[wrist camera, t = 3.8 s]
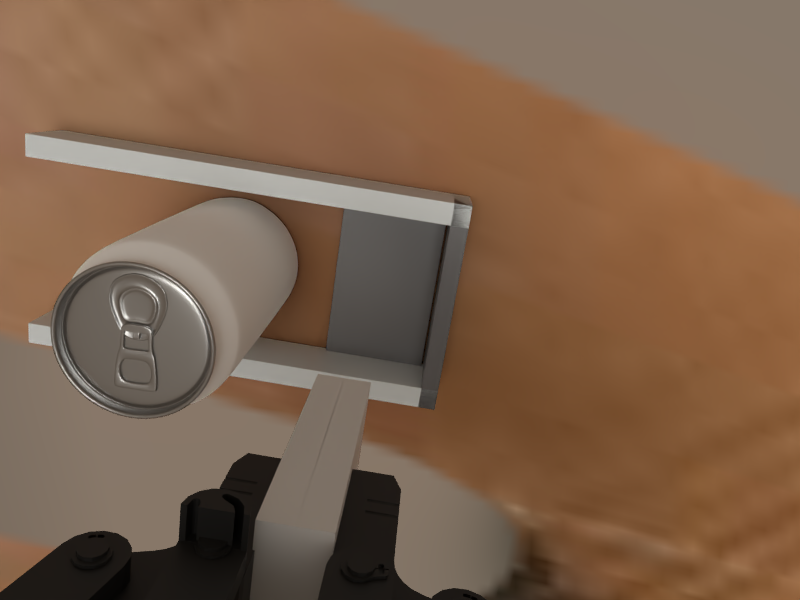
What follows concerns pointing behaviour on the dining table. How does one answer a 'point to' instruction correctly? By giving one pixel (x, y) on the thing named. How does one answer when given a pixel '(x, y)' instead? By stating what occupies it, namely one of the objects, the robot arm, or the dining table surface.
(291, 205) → the dining table surface
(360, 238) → the grey flat u-shaped frame
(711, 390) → the dining table surface
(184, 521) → the robot arm
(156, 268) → the can
